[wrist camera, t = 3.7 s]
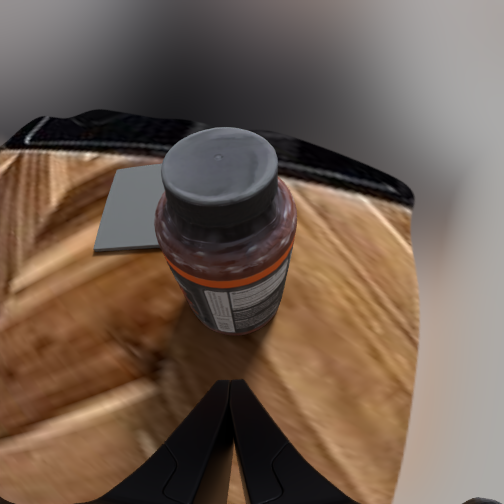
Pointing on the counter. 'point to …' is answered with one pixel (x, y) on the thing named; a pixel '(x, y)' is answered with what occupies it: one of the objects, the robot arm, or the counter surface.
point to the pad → (131, 210)
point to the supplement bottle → (226, 227)
